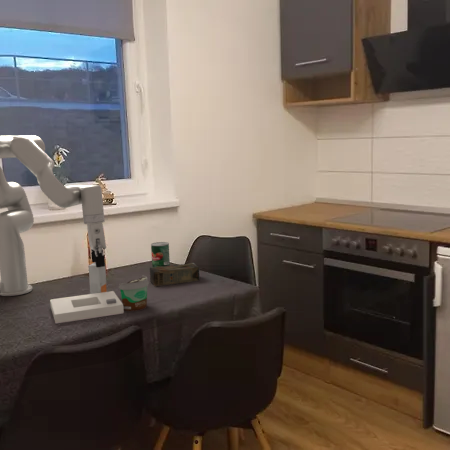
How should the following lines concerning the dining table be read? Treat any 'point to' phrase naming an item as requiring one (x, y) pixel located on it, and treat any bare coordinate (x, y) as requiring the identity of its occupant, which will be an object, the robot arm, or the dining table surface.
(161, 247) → the canned tomato
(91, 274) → the skincare box
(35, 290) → the dining table surface
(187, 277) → the olive curved block
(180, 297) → the dining table surface
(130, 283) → the food container
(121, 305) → the socket plate
